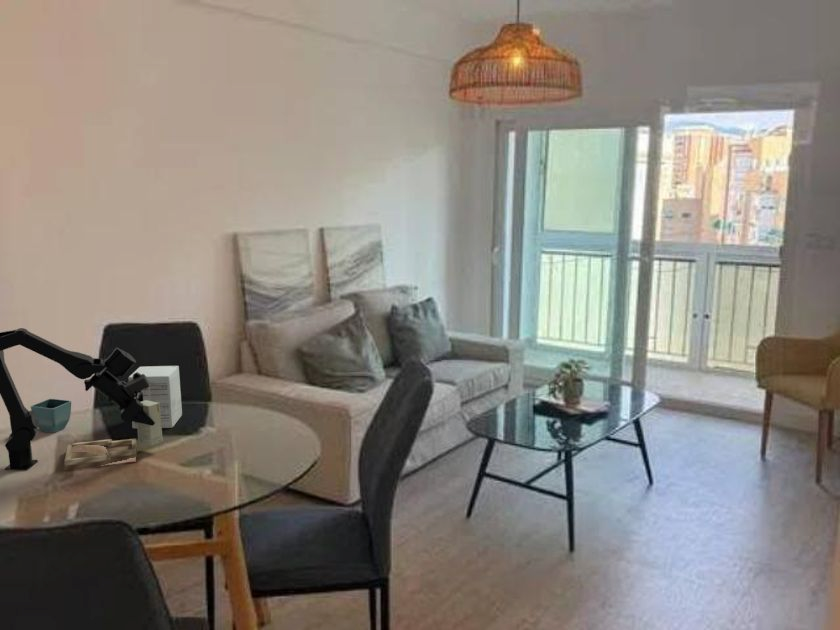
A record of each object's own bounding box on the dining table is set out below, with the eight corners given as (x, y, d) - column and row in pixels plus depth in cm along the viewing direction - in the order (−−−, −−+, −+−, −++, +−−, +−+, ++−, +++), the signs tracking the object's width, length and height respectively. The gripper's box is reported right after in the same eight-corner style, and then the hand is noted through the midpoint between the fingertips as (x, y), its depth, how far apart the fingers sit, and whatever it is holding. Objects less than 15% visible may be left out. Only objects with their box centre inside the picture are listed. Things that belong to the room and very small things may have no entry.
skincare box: (163, 441, 234) (161, 402, 232) (151, 446, 231) (149, 406, 228) (149, 437, 238) (146, 399, 235) (137, 442, 234) (134, 402, 232)
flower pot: (74, 426, 256) (72, 400, 254) (55, 435, 248) (52, 408, 246) (52, 424, 258) (49, 398, 256) (32, 433, 250) (29, 406, 248)
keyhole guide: (64, 470, 220) (64, 462, 219) (69, 451, 235) (69, 442, 234) (136, 462, 226) (136, 453, 225) (137, 443, 241) (136, 435, 240)
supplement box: (143, 415, 266) (139, 366, 263) (182, 414, 267) (179, 365, 264) (131, 429, 253) (127, 377, 250) (172, 428, 254) (169, 376, 251)
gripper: (130, 375, 220) (174, 409, 225) (131, 359, 237) (171, 391, 243) (102, 405, 219) (146, 438, 224) (105, 386, 236) (146, 418, 242)
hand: (153, 420), depth 233 cm, fingers closed on skincare box, 7 cm apart
